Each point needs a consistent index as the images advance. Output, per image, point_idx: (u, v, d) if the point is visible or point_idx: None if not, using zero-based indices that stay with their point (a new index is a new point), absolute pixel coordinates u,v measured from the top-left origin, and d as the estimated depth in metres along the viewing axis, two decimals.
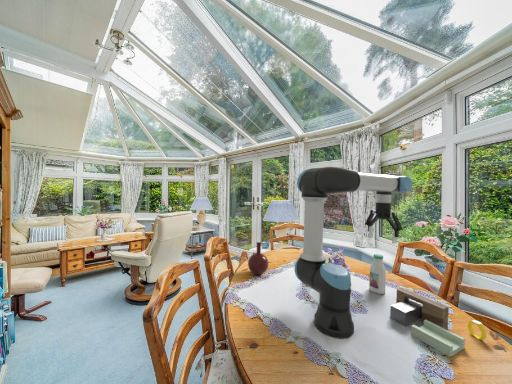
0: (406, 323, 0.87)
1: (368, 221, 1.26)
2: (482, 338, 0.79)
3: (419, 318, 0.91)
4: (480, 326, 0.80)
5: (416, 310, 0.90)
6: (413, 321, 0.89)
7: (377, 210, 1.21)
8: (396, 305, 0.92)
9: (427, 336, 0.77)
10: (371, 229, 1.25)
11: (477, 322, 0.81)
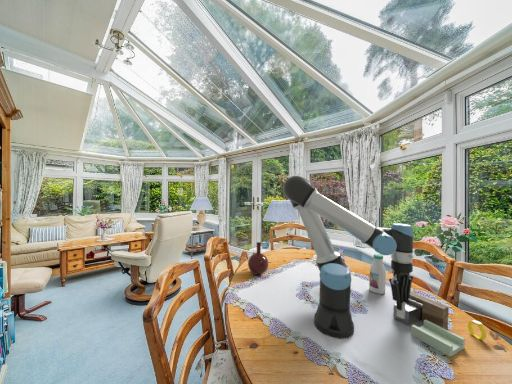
0: (409, 322, 0.88)
1: None
2: (482, 338, 0.79)
3: None
4: (480, 326, 0.80)
5: (420, 309, 0.91)
6: (416, 320, 0.90)
7: None
8: None
9: (427, 336, 0.77)
10: None
11: (477, 322, 0.81)
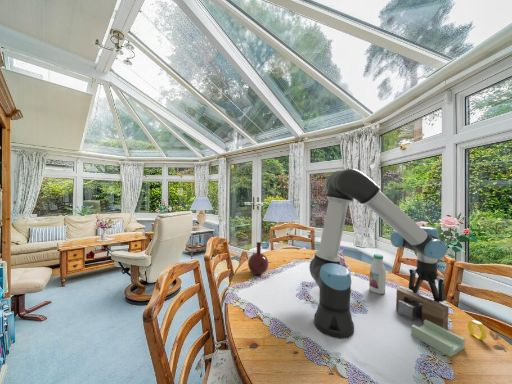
0: (413, 318, 0.91)
1: (412, 284, 1.03)
2: (482, 338, 0.79)
3: None
4: (480, 326, 0.80)
5: None
6: (421, 316, 0.93)
7: (418, 268, 1.01)
8: (404, 300, 0.96)
9: (427, 336, 0.77)
10: None
11: (477, 322, 0.81)
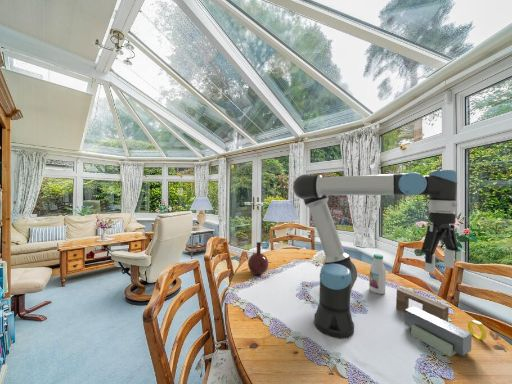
0: (407, 322, 0.85)
1: None
2: (482, 338, 0.79)
3: None
4: (480, 326, 0.80)
5: (428, 323, 0.78)
6: None
7: None
8: (418, 309, 0.86)
9: (427, 336, 0.77)
10: (448, 254, 0.81)
11: (477, 322, 0.81)
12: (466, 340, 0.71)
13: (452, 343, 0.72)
